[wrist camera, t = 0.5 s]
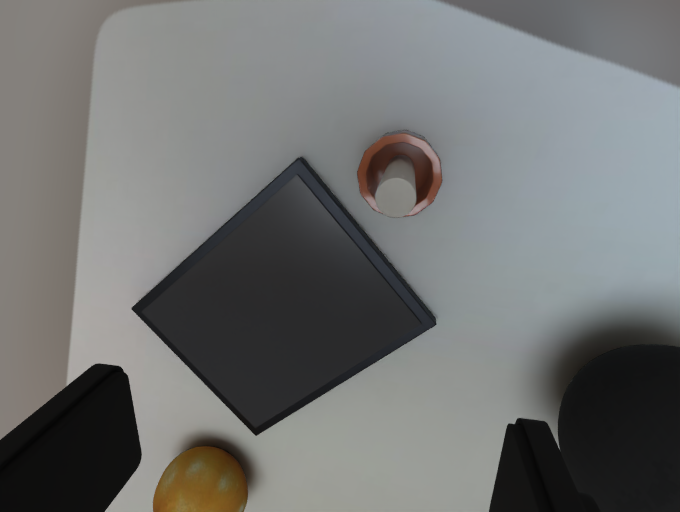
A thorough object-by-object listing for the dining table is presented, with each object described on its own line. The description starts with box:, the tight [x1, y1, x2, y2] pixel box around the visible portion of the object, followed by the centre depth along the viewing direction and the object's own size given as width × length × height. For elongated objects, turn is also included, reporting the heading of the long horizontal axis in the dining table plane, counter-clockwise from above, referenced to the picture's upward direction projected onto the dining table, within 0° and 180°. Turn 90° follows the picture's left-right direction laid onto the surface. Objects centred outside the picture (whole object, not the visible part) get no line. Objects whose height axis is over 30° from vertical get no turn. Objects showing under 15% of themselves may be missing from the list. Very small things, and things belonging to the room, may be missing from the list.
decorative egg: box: [558, 344, 680, 512], centre depth 24 cm, size 12×12×15 cm
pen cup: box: [357, 130, 442, 217], centre depth 26 cm, size 5×5×5 cm
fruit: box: [153, 446, 248, 512], centre depth 38 cm, size 8×8×8 cm
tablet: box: [132, 157, 436, 436], centre depth 33 cm, size 16×20×1 cm
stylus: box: [375, 155, 416, 218], centre depth 23 cm, size 2×2×11 cm
